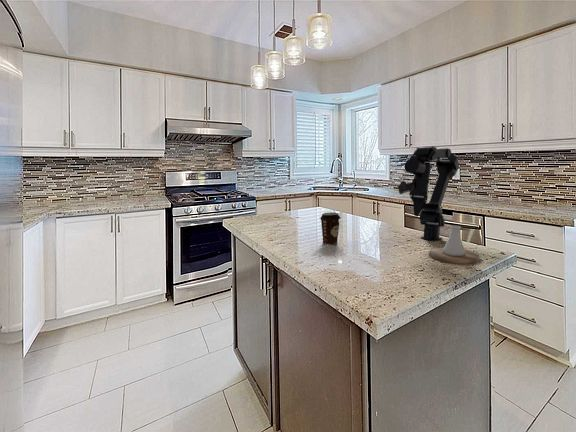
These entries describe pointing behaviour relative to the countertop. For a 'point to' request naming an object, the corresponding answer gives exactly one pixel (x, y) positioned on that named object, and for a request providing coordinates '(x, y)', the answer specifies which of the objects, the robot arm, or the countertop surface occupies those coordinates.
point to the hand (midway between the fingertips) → (415, 215)
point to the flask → (454, 243)
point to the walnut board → (454, 257)
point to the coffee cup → (330, 227)
